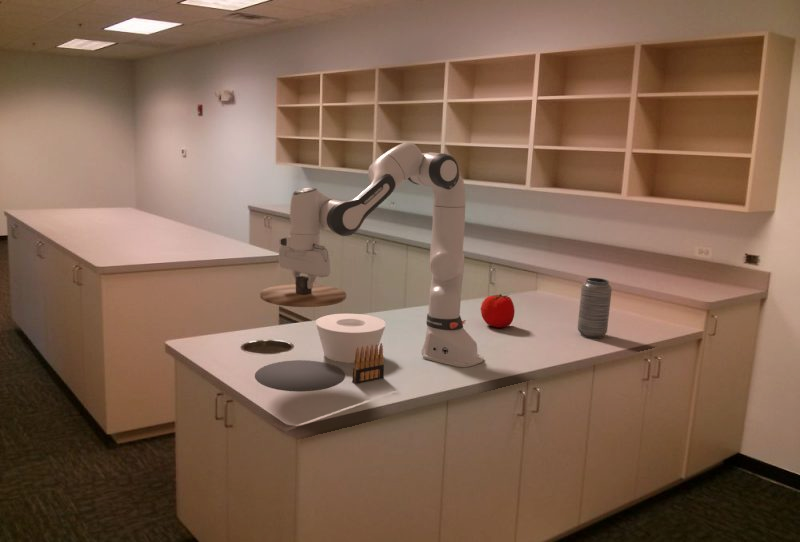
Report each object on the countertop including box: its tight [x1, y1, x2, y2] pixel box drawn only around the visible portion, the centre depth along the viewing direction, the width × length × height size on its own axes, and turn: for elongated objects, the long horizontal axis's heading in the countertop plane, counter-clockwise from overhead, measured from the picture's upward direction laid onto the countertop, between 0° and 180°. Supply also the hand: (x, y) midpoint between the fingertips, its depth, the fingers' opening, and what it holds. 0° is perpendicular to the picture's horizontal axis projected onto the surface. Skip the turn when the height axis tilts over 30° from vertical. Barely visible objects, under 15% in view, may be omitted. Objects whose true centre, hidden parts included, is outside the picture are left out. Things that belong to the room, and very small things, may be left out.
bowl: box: [315, 313, 387, 364], centre depth 236 cm, size 24×24×12 cm
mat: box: [254, 359, 346, 392], centre depth 215 cm, size 28×28×1 cm
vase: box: [577, 277, 613, 339], centre depth 275 cm, size 12×12×23 cm
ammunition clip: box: [352, 342, 385, 385], centre depth 212 cm, size 11×2×12 cm, turn 127°
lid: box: [259, 275, 347, 308], centre depth 209 cm, size 26×26×6 cm
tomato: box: [480, 293, 516, 329], centre depth 283 cm, size 16×14×14 cm
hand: (303, 286), depth 209 cm, fingers closed on lid, 3 cm apart
